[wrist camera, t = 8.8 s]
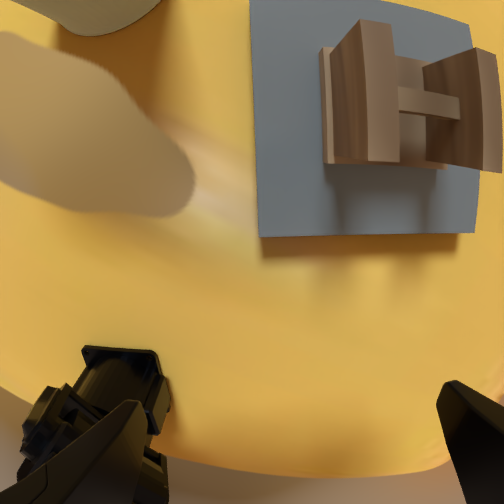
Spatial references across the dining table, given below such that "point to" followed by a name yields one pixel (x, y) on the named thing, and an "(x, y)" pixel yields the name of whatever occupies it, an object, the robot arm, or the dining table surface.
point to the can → (91, 13)
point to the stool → (408, 105)
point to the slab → (310, 128)
